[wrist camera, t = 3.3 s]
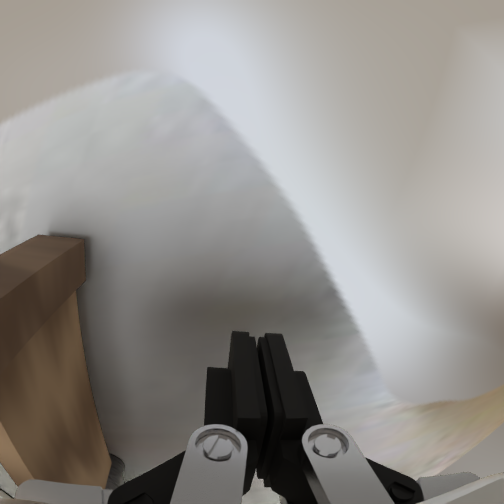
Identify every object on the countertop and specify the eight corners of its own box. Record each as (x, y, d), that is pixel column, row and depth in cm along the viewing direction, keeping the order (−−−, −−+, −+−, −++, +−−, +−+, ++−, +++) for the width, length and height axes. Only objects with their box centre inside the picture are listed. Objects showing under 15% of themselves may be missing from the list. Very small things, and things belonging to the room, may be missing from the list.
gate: (118, 462, 16) (97, 558, 8) (85, 454, 15) (57, 545, 8) (84, 239, 12) (-40, 331, 4) (38, 234, 11) (-89, 309, 4)
